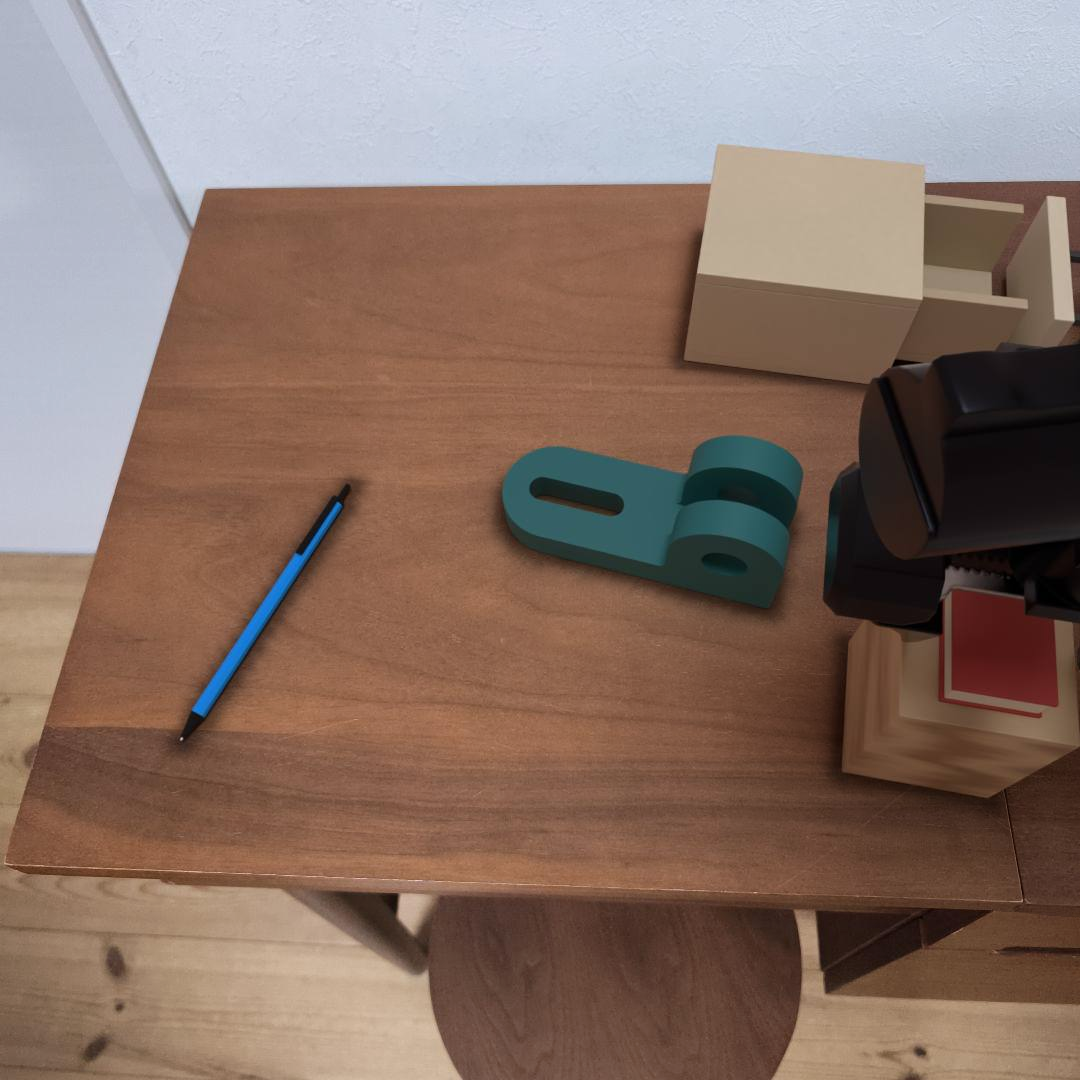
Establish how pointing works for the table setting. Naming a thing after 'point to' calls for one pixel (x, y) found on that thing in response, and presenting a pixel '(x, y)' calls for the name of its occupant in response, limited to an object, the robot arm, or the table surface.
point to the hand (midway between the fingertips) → (992, 645)
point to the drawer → (966, 279)
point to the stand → (945, 720)
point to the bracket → (665, 514)
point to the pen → (264, 612)
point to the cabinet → (808, 263)
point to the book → (996, 655)
